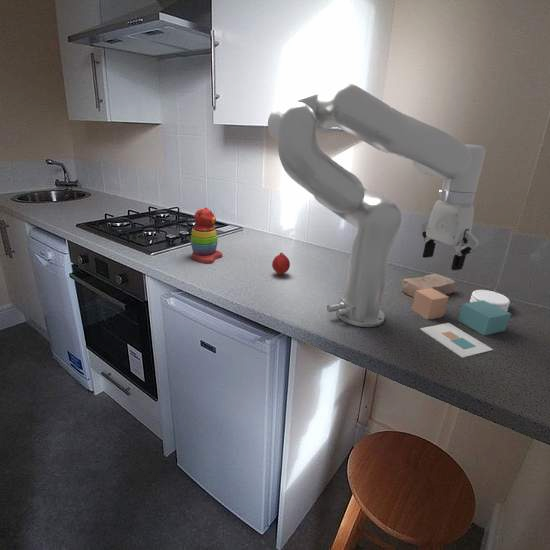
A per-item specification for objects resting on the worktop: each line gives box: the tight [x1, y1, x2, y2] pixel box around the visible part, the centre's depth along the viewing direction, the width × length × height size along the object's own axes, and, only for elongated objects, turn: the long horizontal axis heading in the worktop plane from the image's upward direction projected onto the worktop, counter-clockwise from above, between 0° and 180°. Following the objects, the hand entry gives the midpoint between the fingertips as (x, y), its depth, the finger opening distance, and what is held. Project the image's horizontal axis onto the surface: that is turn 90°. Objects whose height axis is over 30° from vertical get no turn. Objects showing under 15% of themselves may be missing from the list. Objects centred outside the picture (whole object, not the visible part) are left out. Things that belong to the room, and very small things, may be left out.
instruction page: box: [419, 322, 494, 359], centre depth 88 cm, size 10×13×1 cm
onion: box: [271, 251, 291, 276], centre depth 118 cm, size 6×6×8 cm
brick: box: [401, 273, 456, 299], centre depth 113 cm, size 17×8×5 cm, turn 122°
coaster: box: [469, 289, 511, 312], centre depth 107 cm, size 10×10×4 cm
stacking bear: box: [190, 207, 224, 265], centre depth 127 cm, size 11×10×18 cm
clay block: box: [410, 288, 450, 320], centre depth 99 cm, size 6×6×6 cm
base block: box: [457, 300, 512, 336], centre depth 95 cm, size 8×8×5 cm
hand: (441, 263), depth 95 cm, fingers open, 9 cm apart
